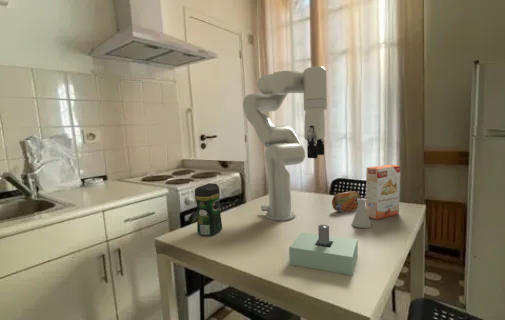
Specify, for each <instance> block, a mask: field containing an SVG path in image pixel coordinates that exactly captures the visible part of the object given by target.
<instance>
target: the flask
mask: <svg viewBox="0 0 505 320" xmlns="http://www.w3.org/2000/svg"><path fill="white" fill-rule="evenodd" d="M357 202H358V207H357V209H356V212H355V214H354V217H353V219H352V222H351V226H353V227H354V228H358V229H366V228H367V229H370V228H371V227H372V223H371V220H370V217H368V214H367V212H366V198H365V199H364V198H361V199H357Z"/></svg>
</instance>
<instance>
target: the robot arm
mask: <svg viewBox="0 0 505 320" xmlns="http://www.w3.org/2000/svg"><path fill="white" fill-rule="evenodd" d="M327 81H328V80H327V69H326V68H325V67H324V66H318V65H317V66H311V67H307V68H305V69H304V70H302V71H301V70H280V71H275V72H273V73H269V74H268V73H267V74H264V75H262V76H261V77H259V78H258V80H257V81H256V88H257V90H258V91H259V93H255V92H254V93H250V94H247V95H246V96H245V97H244V99H243V101H242V109H243V113H244V115H245V118H246V119H247V121H248V122H249V124H250V125H251V126H252V127H253V130H254V131H255V133H256V136H257V137H258V139H259V141H260V143H261V145H262V146H263V147H265V150H264V159H265V160H264V161H265V163H266V169H267V181H268V183H267V184H268V185H267V186H268V187H267V188H268V205H265V204H262V205H261V208H260V209H261V211H262V212H266V213H265V217H266V219H268V220H270V221H274V222H275V221H276V222H283V221H284V222H285V221H290V220H293V219H294V218H295V217H296V213H295V212H294V211H293V210H292V193H291V192H292V190H291V189H292V187H291V184H292V183H291V174H290V172H289V171H288V169H287V167H286V166H294V165H300V164H302V163H303V162H304V161H305V158H306V153H307V159H317V158H318V156H323V155H325V141H324V140H325V139H324V138H325V135H326V133H325V131H326V129H325V127H326V126H325V125H326V123H325V110H328V96H327V95H328V94H327V93H328V89H327V87H328V86H327V85H328V84H327V83H328V82H327ZM288 94H303V111H305V112H304V113H305V114H304V127H303V128H304V132H303V133H304V135H303V136H304V137H303V138H304V140H306V141H307V143H306V146H307V147H306V150H307V151H306V152H305V148H304V145H303V144H302V142H301V141H300V139H299V138H298V135H297V134H296V132H295V131H294V129H293V128H292V127H291V126H288V125H275V124H273V123H272V121H271V119H270V117H269V116H268V115H266V114H264V112H267V113H268V112H276V111H278V110H279V109H280V107H281V106H282V104H283V103H284V101H285V99H286V97H287V96H288Z"/></svg>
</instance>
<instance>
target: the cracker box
mask: <svg viewBox="0 0 505 320" xmlns="http://www.w3.org/2000/svg"><path fill="white" fill-rule="evenodd" d="M365 177H366V181H365V183H366V184H365V185H366V186H365V200H366V202H365V207H366V212H367V214H368V217H369V219H370V218H371V219H374V220H375V221H377V220H381V219H384V218H388V217H391V216H396V215H399V213H400V193H401V192H400V188H401V187H400V185H401V184H400V183H401V165H398V164H384V165H375V166H369V167H366V175H365Z"/></svg>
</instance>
